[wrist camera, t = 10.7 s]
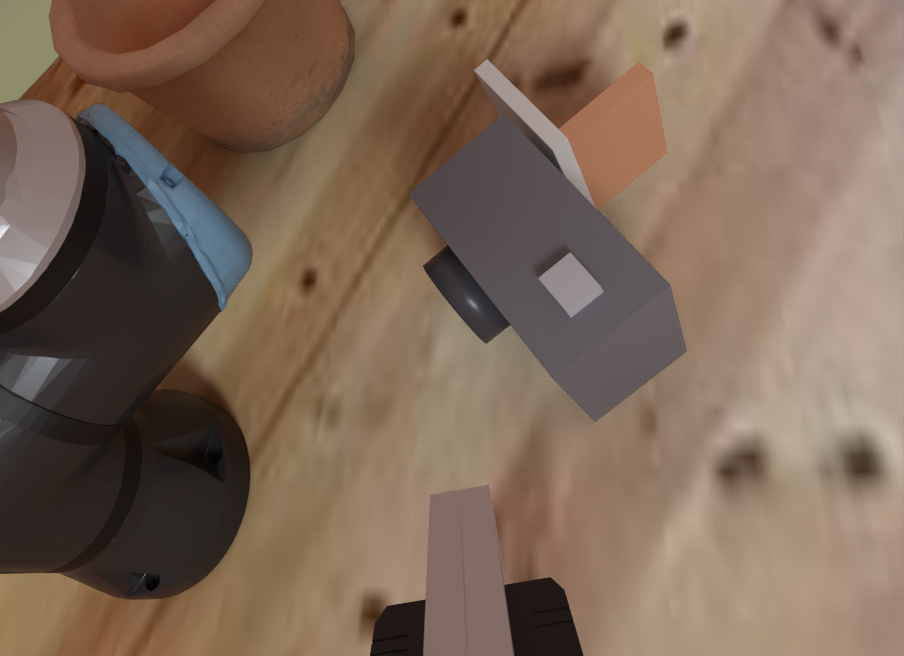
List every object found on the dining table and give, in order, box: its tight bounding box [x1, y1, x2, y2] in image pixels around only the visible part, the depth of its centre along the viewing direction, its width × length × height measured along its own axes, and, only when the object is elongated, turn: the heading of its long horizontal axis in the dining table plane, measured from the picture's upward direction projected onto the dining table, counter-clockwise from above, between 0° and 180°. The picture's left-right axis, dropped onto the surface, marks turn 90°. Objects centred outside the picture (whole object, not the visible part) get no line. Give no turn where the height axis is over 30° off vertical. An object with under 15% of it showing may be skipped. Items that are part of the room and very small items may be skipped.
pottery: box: [49, 0, 354, 153], centre depth 57 cm, size 22×22×14 cm
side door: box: [474, 60, 667, 210], centre depth 43 cm, size 8×7×9 cm
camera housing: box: [408, 114, 687, 422], centre depth 41 cm, size 14×9×12 cm, turn 35°
